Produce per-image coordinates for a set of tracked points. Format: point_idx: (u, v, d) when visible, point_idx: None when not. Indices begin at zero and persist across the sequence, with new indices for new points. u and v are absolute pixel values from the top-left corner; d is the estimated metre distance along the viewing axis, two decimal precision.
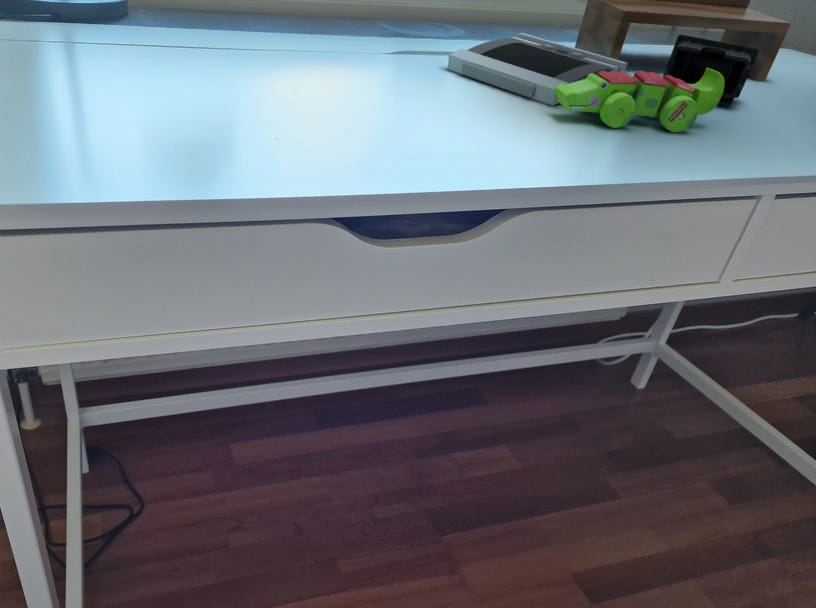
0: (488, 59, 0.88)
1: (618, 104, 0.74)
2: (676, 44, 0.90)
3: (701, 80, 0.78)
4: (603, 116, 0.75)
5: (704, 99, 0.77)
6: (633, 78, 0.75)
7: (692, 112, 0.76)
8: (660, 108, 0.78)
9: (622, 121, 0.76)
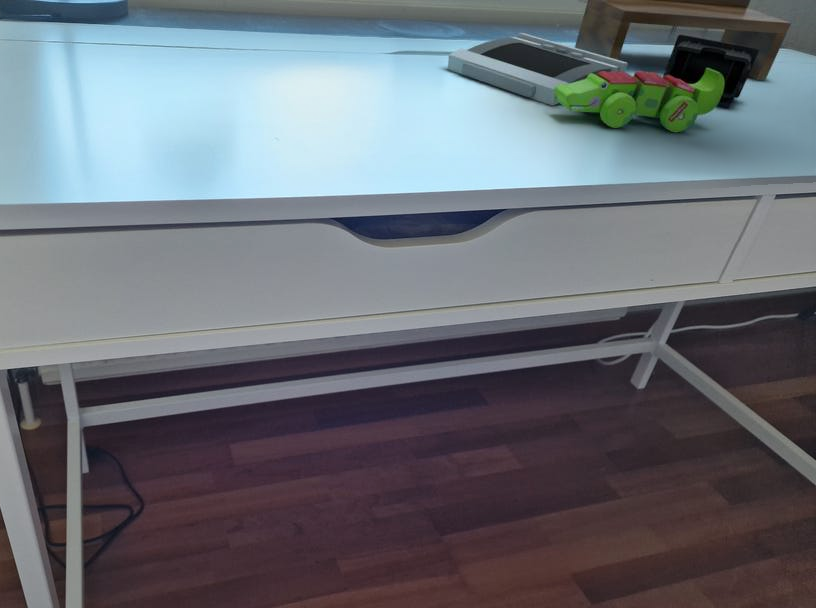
0: (488, 59, 0.88)
1: (618, 104, 0.74)
2: (676, 44, 0.90)
3: (701, 80, 0.78)
4: (603, 116, 0.75)
5: (704, 99, 0.77)
6: (633, 78, 0.75)
7: (692, 112, 0.76)
8: (660, 108, 0.78)
9: (622, 121, 0.76)
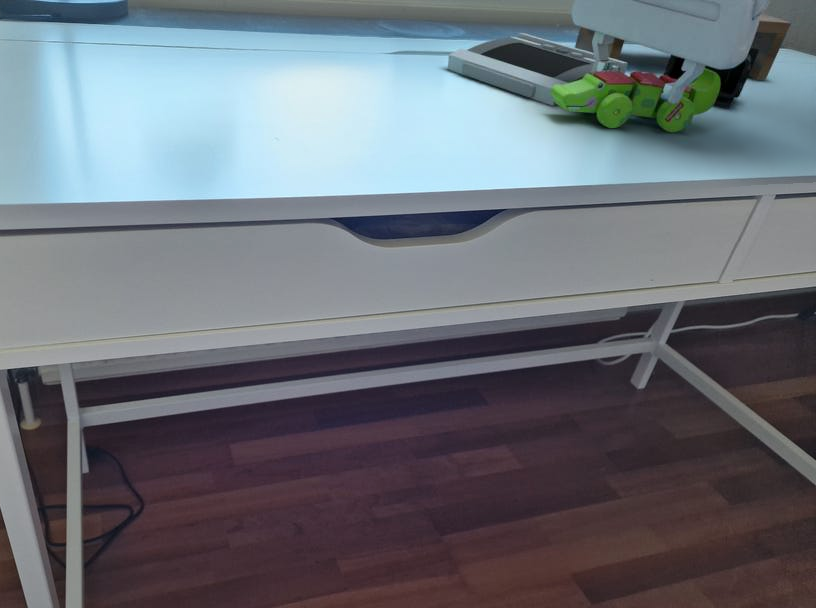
0: (488, 59, 0.88)
1: (614, 105, 0.74)
2: None
3: (697, 80, 0.78)
4: (600, 116, 0.75)
5: (700, 99, 0.77)
6: (629, 78, 0.75)
7: (688, 112, 0.76)
8: (656, 108, 0.78)
9: (619, 121, 0.76)
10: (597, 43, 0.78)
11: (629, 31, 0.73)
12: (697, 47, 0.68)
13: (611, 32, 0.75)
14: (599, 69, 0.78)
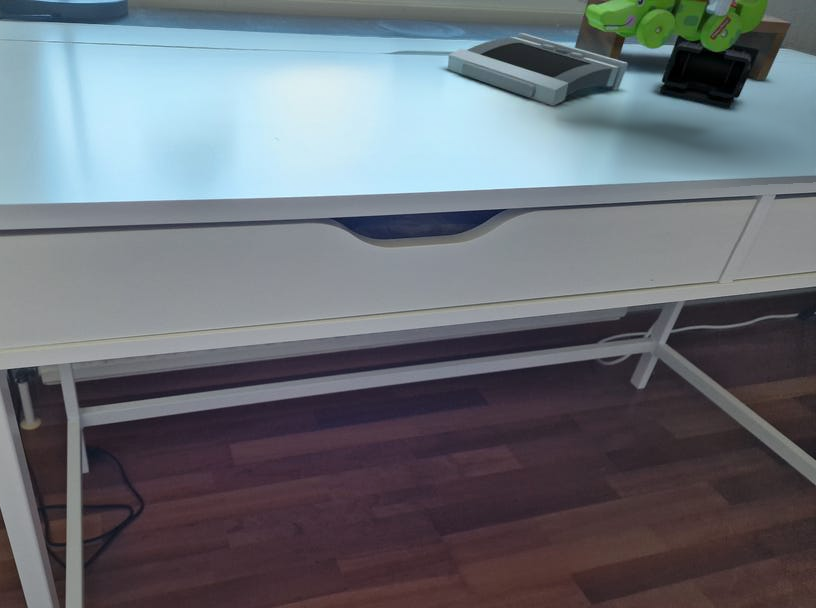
0: (488, 59, 0.88)
1: (656, 21, 0.69)
2: (676, 44, 0.90)
3: None
4: (640, 35, 0.70)
5: (746, 15, 0.72)
6: None
7: (735, 28, 0.70)
8: (700, 27, 0.72)
9: (661, 41, 0.70)
10: None
11: None
12: None
13: None
14: None
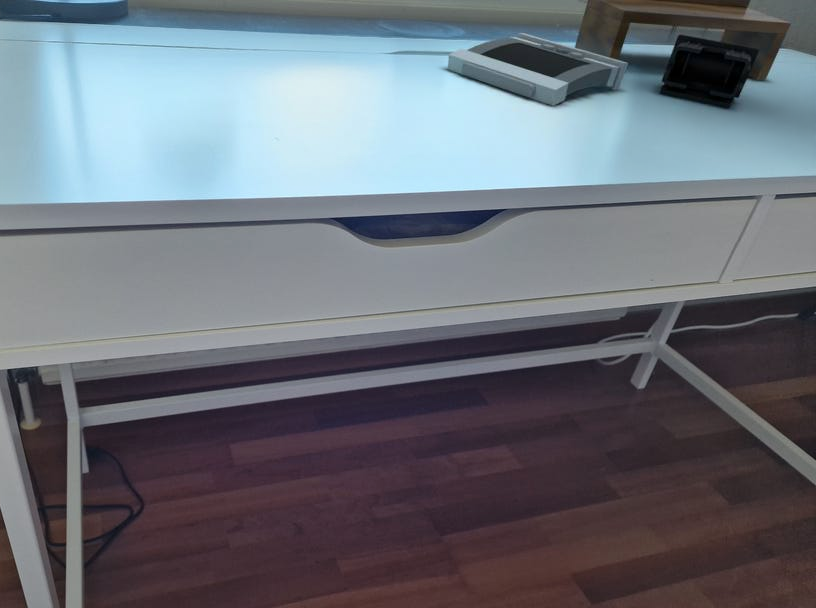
0: (488, 59, 0.88)
1: None
2: (676, 44, 0.90)
3: None
4: None
5: None
6: None
7: None
8: None
9: None
10: None
11: None
12: None
13: None
14: None
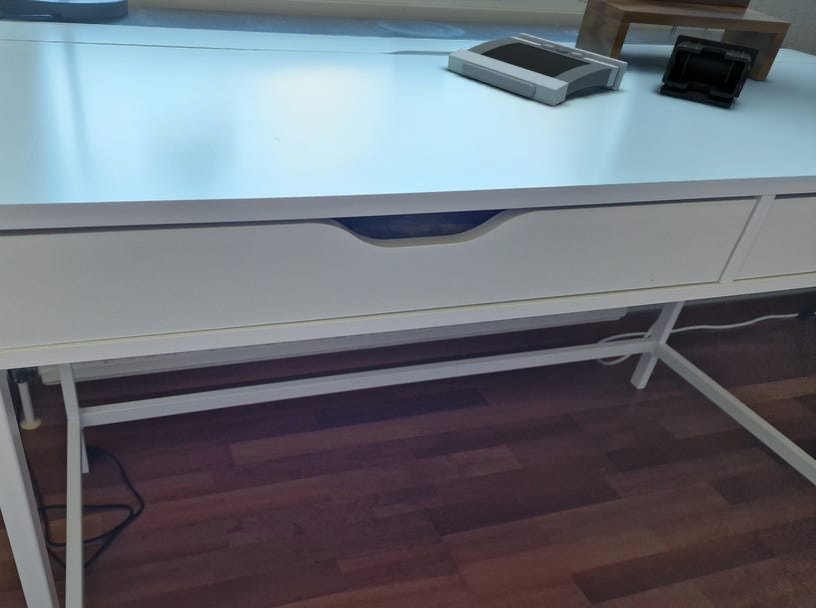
0: (488, 59, 0.88)
1: None
2: (676, 44, 0.90)
3: None
4: None
5: None
6: None
7: None
8: None
9: None
10: None
11: None
12: None
13: None
14: None
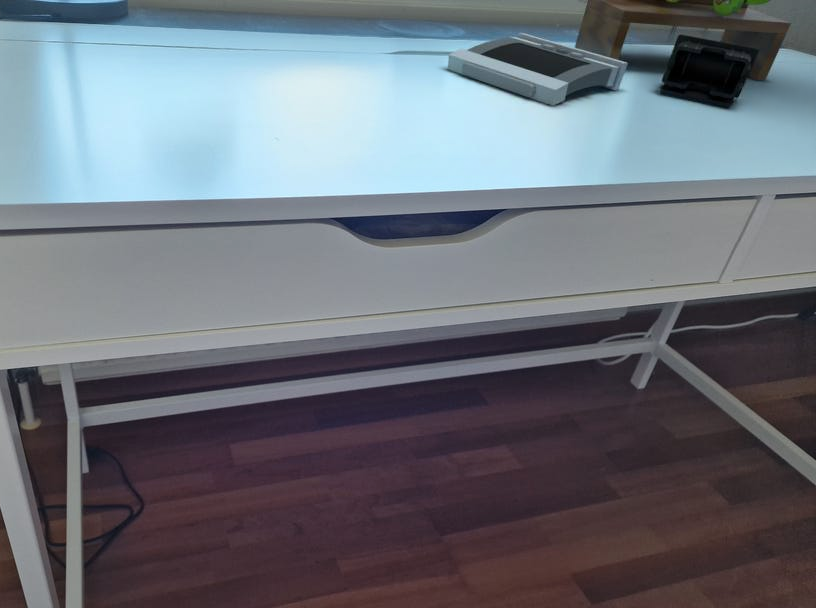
0: (488, 59, 0.88)
1: None
2: (676, 44, 0.90)
3: None
4: None
5: None
6: None
7: None
8: None
9: None
10: None
11: None
12: None
13: None
14: None
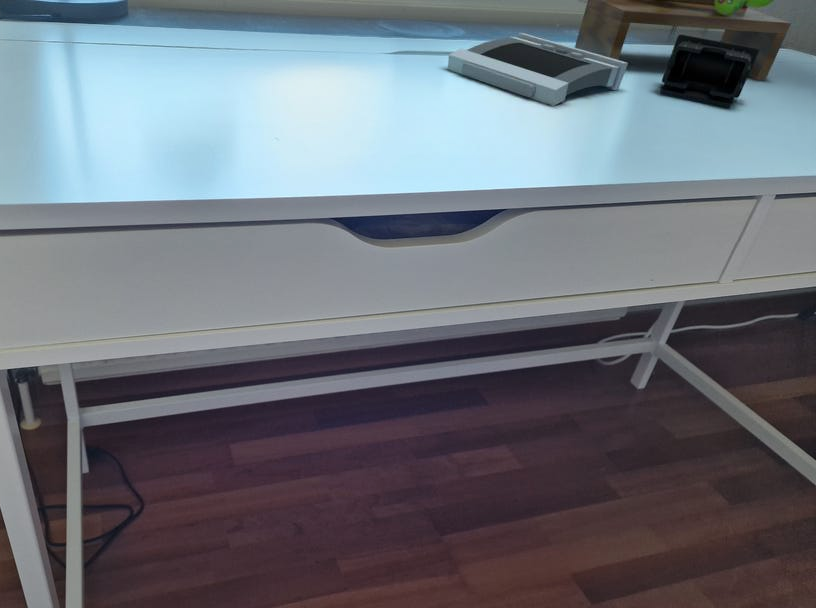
0: (488, 59, 0.88)
1: None
2: (676, 44, 0.90)
3: None
4: None
5: None
6: None
7: None
8: None
9: None
10: None
11: None
12: None
13: None
14: None
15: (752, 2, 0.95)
